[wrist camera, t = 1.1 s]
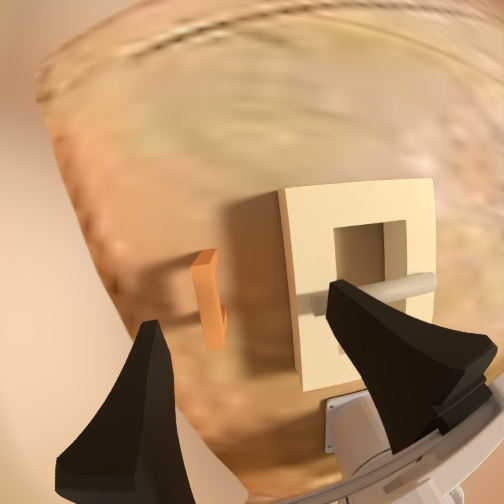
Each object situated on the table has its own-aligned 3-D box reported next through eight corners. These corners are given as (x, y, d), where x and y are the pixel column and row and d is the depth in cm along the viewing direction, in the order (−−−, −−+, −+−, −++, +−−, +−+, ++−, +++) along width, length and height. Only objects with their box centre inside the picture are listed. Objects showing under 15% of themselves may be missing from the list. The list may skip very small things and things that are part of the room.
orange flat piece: (227, 317, 24) (224, 348, 19) (213, 319, 24) (207, 350, 19) (216, 248, 23) (209, 264, 18) (201, 250, 23) (190, 266, 18)
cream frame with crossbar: (407, 340, 26) (435, 367, 20) (295, 366, 26) (306, 403, 20) (407, 179, 23) (444, 177, 17) (277, 190, 23) (289, 187, 17)
